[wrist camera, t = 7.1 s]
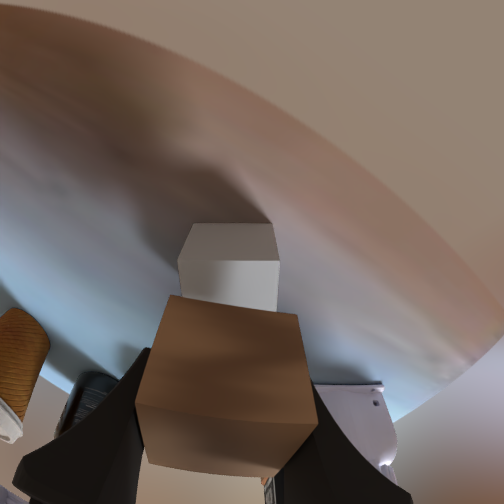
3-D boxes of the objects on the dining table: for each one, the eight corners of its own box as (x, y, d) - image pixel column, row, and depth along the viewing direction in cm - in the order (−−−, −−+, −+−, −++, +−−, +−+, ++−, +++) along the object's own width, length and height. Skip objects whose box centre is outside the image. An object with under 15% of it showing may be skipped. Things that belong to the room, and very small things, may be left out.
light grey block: (272, 222, 19) (279, 260, 14) (269, 288, 21) (274, 337, 17) (193, 222, 19) (177, 260, 14) (199, 288, 21) (188, 335, 16)
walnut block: (297, 314, 11) (318, 423, 7) (267, 388, 14) (273, 477, 9) (170, 294, 11) (134, 402, 7) (168, 374, 13) (148, 463, 9)
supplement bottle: (69, 376, 27) (32, 460, 16) (99, 362, 25) (59, 463, 14) (111, 410, 29) (87, 491, 18) (146, 400, 28) (123, 496, 17)
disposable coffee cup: (36, 293, 21) (-34, 386, 10) (76, 366, 26) (36, 457, 15) (-15, 294, 22) (-73, 365, 11) (23, 358, 26) (-18, 430, 15)
